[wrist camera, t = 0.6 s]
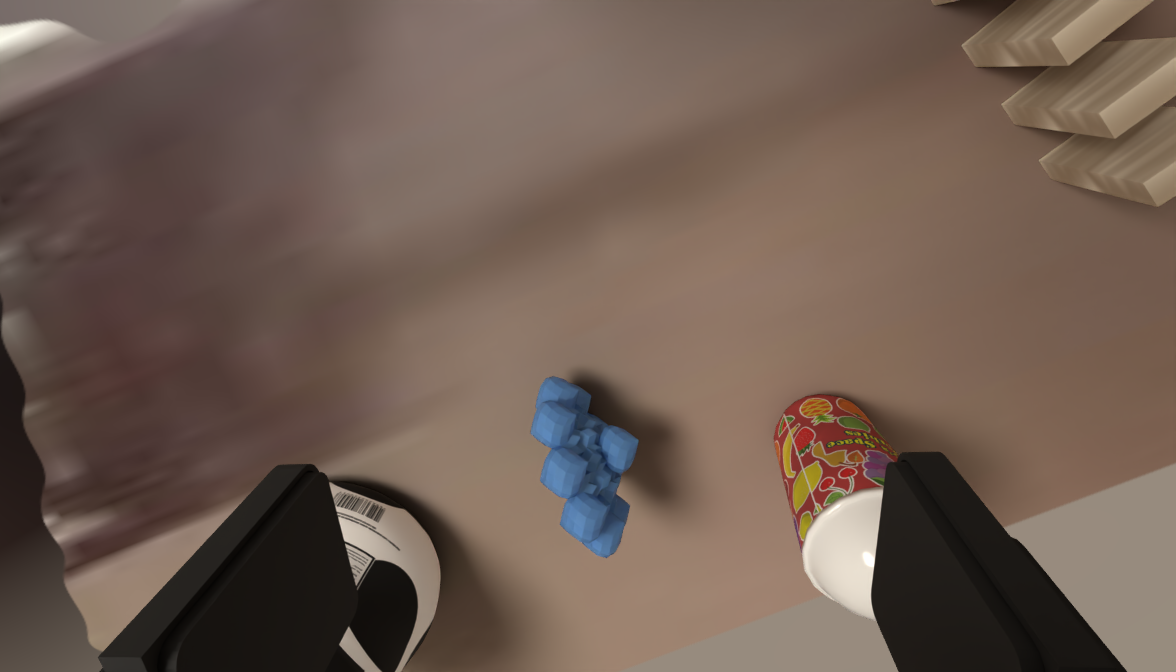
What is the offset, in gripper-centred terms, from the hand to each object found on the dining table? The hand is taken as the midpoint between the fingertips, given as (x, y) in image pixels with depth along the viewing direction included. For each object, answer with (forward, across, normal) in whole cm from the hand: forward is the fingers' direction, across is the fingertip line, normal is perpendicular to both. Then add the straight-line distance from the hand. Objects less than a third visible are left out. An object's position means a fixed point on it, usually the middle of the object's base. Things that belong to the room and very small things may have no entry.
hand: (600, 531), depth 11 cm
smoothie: (+35, -13, +18) cm, 42 cm away
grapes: (+35, +3, +17) cm, 39 cm away
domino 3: (+35, -28, -1) cm, 45 cm away
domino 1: (+35, -23, -8) cm, 42 cm away
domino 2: (+35, -25, -5) cm, 43 cm away
